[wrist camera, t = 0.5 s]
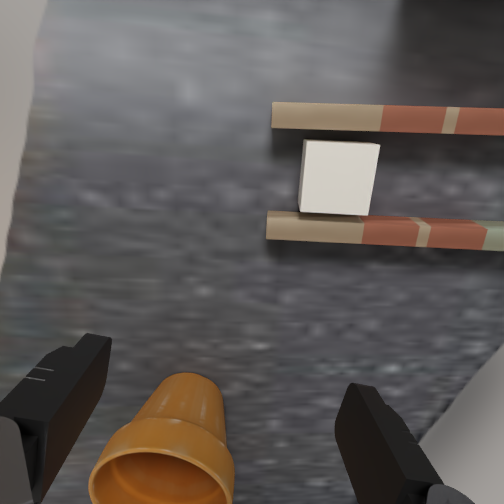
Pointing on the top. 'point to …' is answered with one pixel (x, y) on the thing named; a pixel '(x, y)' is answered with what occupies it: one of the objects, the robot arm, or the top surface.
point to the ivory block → (337, 176)
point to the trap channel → (387, 227)
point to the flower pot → (169, 450)
